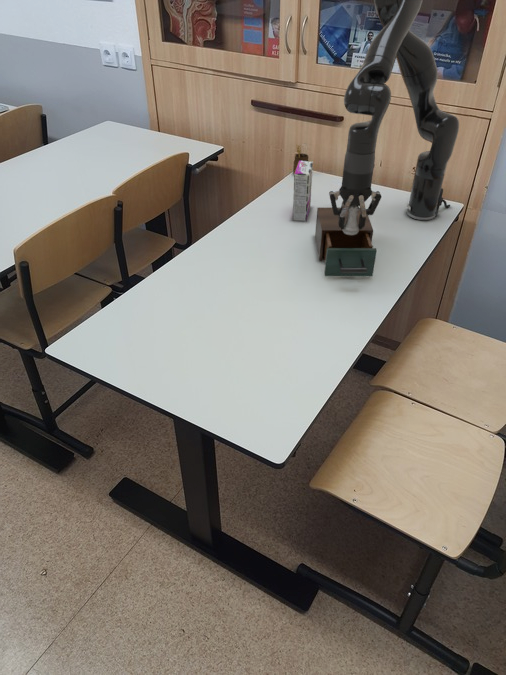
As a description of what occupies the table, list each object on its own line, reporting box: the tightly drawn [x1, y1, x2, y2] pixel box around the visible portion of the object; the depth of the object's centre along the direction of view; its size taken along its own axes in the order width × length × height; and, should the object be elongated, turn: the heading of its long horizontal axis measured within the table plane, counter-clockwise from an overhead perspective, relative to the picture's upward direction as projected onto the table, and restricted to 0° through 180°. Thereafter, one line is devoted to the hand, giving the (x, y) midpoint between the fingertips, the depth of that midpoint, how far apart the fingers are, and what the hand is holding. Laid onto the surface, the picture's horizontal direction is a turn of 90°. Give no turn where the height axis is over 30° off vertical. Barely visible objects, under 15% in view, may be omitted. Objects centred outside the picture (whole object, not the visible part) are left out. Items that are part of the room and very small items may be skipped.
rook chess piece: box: [343, 205, 360, 235], centre depth 144 cm, size 4×4×8 cm
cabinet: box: [314, 207, 374, 262], centre depth 160 cm, size 15×15×10 cm
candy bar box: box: [292, 160, 314, 222], centre depth 176 cm, size 11×5×16 cm, turn 168°
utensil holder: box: [292, 144, 309, 174], centre depth 205 cm, size 6×6×12 cm
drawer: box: [323, 233, 377, 277], centre depth 150 cm, size 19×13×8 cm
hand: (350, 227), depth 146 cm, fingers closed on rook chess piece, 4 cm apart
